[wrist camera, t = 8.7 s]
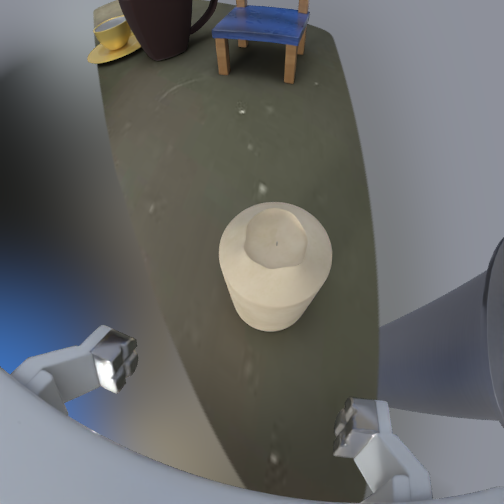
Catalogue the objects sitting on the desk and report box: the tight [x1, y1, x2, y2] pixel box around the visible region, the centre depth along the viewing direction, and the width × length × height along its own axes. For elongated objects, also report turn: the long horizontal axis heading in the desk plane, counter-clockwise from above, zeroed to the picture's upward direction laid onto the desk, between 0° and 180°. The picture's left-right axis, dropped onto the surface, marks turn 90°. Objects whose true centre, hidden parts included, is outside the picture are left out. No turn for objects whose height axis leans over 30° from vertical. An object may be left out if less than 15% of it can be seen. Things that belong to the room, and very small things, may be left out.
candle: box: [219, 202, 332, 332], centre depth 18 cm, size 6×6×10 cm
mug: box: [119, 0, 218, 61], centre depth 32 cm, size 10×14×12 cm
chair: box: [212, 0, 310, 84], centre depth 28 cm, size 10×10×15 cm
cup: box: [88, 15, 141, 64], centre depth 36 cm, size 12×12×5 cm
